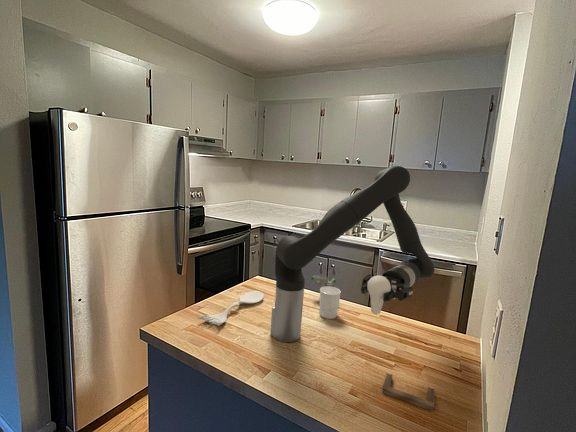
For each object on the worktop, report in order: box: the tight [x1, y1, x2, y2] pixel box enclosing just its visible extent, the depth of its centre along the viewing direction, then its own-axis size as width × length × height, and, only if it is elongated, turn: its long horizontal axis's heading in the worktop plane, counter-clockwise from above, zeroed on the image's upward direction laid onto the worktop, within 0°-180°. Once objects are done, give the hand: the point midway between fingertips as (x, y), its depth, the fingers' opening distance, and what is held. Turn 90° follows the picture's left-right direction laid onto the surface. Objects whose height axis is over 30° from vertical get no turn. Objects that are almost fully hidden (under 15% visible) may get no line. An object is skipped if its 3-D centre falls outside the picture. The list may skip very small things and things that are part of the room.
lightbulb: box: [367, 275, 391, 315], centre depth 84 cm, size 6×6×11 cm
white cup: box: [318, 286, 342, 320], centre depth 119 cm, size 8×8×10 cm
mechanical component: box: [311, 274, 337, 289], centre depth 133 cm, size 3×10×10 cm, turn 78°
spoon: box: [198, 290, 265, 326], centre depth 118 cm, size 9×32×4 cm, turn 153°
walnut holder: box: [381, 372, 435, 412], centre depth 80 cm, size 12×7×1 cm, turn 64°
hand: (373, 294), depth 82 cm, fingers closed on lightbulb, 5 cm apart
